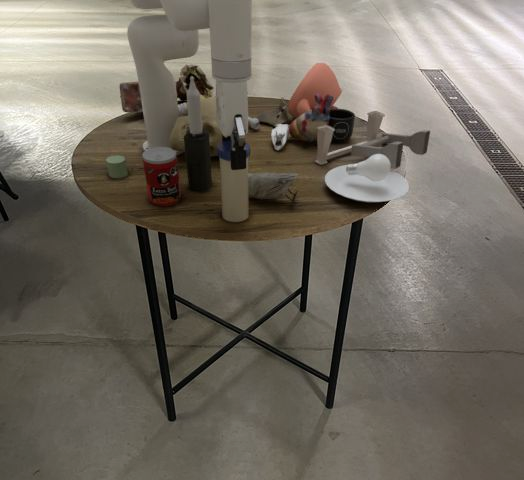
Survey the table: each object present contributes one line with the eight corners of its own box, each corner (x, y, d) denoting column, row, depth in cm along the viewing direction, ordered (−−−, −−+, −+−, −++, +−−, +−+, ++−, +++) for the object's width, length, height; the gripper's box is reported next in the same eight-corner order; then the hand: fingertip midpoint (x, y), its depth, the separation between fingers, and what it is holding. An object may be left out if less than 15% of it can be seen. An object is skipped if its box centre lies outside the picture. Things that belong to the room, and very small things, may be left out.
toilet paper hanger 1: (311, 161, 133) (320, 166, 131) (315, 127, 126) (325, 132, 124) (369, 142, 143) (378, 147, 141) (376, 110, 136) (385, 114, 134)
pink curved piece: (271, 125, 149) (304, 153, 151) (297, 81, 135) (333, 113, 137) (304, 89, 162) (334, 116, 164) (330, 46, 148) (363, 75, 150)
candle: (213, 183, 122) (207, 74, 105) (206, 192, 119) (198, 81, 101) (194, 180, 123) (185, 72, 106) (187, 189, 120) (176, 78, 102)
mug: (354, 144, 141) (358, 119, 136) (324, 144, 141) (327, 119, 136) (346, 129, 150) (349, 104, 145) (317, 129, 149) (319, 105, 144)
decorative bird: (235, 190, 120) (234, 161, 114) (298, 198, 117) (301, 169, 112) (229, 201, 116) (228, 171, 111) (294, 209, 114) (297, 179, 108)
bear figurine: (197, 54, 161) (172, 70, 168) (177, 72, 152) (151, 88, 159) (219, 94, 168) (194, 107, 175) (201, 113, 159) (175, 126, 167)
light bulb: (180, 117, 159) (208, 109, 159) (181, 125, 154) (211, 116, 154) (173, 97, 154) (203, 88, 154) (175, 104, 150) (205, 95, 150)
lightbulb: (341, 160, 117) (387, 157, 112) (349, 152, 121) (393, 149, 116) (343, 186, 121) (387, 184, 116) (351, 177, 125) (393, 175, 120)
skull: (168, 121, 120) (247, 118, 123) (162, 87, 129) (236, 85, 133) (172, 169, 131) (245, 165, 134) (167, 135, 140) (235, 132, 144)
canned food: (151, 208, 113) (143, 162, 105) (147, 193, 118) (140, 148, 110) (183, 204, 114) (178, 159, 106) (178, 189, 120) (173, 145, 112)
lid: (217, 147, 103) (217, 139, 102) (250, 147, 104) (249, 139, 103) (216, 161, 99) (216, 153, 97) (250, 161, 99) (250, 153, 98)
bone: (228, 111, 158) (218, 115, 157) (227, 95, 154) (217, 99, 153) (261, 135, 150) (252, 139, 149) (261, 119, 146) (251, 123, 144)
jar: (222, 208, 113) (219, 142, 102) (248, 208, 113) (248, 142, 103) (221, 222, 109) (218, 154, 98) (249, 222, 109) (248, 154, 98)
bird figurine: (267, 124, 134) (274, 124, 143) (268, 151, 137) (275, 148, 146) (285, 124, 133) (290, 123, 142) (285, 150, 136) (291, 148, 145)
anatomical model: (311, 131, 147) (330, 83, 135) (323, 150, 143) (344, 101, 131) (283, 130, 143) (301, 80, 131) (295, 149, 139) (314, 99, 127)
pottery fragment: (259, 127, 164) (252, 112, 162) (289, 110, 162) (282, 94, 159) (261, 139, 150) (253, 123, 147) (294, 121, 148) (286, 104, 145)
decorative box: (169, 124, 166) (183, 126, 159) (113, 121, 155) (125, 123, 148) (169, 81, 160) (183, 81, 153) (111, 74, 149) (123, 74, 142)
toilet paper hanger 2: (351, 138, 127) (349, 162, 130) (398, 144, 120) (395, 168, 123) (386, 126, 141) (383, 147, 144) (430, 130, 134) (426, 152, 138)
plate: (346, 215, 111) (348, 206, 110) (310, 177, 125) (311, 169, 124) (423, 203, 117) (425, 194, 115) (380, 168, 131) (382, 160, 129)
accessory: (305, 130, 147) (305, 134, 148) (285, 137, 143) (285, 141, 143) (327, 137, 143) (327, 141, 143) (307, 145, 138) (307, 148, 139)
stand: (111, 170, 127) (107, 155, 124) (129, 170, 127) (126, 155, 124) (107, 178, 123) (104, 163, 120) (126, 178, 123) (123, 163, 121)
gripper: (204, 56, 95) (209, 146, 107) (220, 83, 83) (224, 180, 95) (241, 55, 96) (242, 143, 109) (262, 80, 84) (261, 176, 97)
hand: (234, 160), depth 102 cm, fingers open, 8 cm apart
